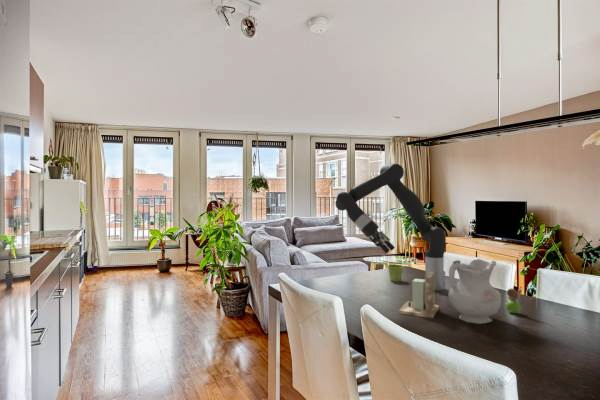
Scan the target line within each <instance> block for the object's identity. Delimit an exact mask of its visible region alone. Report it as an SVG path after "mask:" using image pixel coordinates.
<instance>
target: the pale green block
mask: <svg viewBox="0 0 600 400" xmlns="http://www.w3.org/2000/svg"><path fill="white" fill-rule="evenodd" d="M411 282H412V284H411V285H412V287H411V289H412V302H413V309H418V310H424V304H426V280H425V278H423V279H422V278H414V279H413V280H412V281H411Z"/></svg>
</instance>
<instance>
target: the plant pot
mask: <svg viewBox="0 0 600 400" xmlns="http://www.w3.org/2000/svg"><path fill="white" fill-rule="evenodd" d="M404 267H405V266H404V265H402V264H388V265H387V268H388V273H389V279H390V281H391V282H401V281H402V276H403V270H404Z"/></svg>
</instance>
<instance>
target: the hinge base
mask: <svg viewBox="0 0 600 400" xmlns="http://www.w3.org/2000/svg"><path fill="white" fill-rule="evenodd" d="M435 292H436V290H435V273H433V272H431V273H430V274H429V275H428V276H427V277H426V304H424V310H418V309H413V301H409V300H407V301H406V302H405V303H404V304H403V305H402V306H401V307H400V309H399V310H398V314H399V315H409V316H415V317H421V318H430V319H434V318H435V316H436V315H437V313H438V311H439V309H440V304H436V303H435V302H436V298H435V297H436V294H435Z"/></svg>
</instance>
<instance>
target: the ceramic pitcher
mask: <svg viewBox="0 0 600 400" xmlns="http://www.w3.org/2000/svg"><path fill="white" fill-rule="evenodd" d="M496 265H497V261H495V260H491V261H490V263H489V262H488V261H487V260H483V259H480V258H476V259H474V260H472V261H471V262H470V263H463V262H461V260H458V259H456V260H454V261H452V263H451V265H450V267H449V269H448V279H449V283H450V289H449V291H448V300H449V303H450V305H451V306H452V307H453V308H454V310H455V311H456V312H458V313H459V314H460V315H459V316H458V317H459V318H458V319H459V320H460V321H461V320H462V321H464V322H466V323H468V324H469V323H471V324H477V325H482V324H487V323H491V322H493V318H490V317H492V316H495V315H496V314H497V313H498V312H499V311H500V308H501V304H502V294H501V293H500V291H498V290H497V289H496V288H495V287H494V286H493V285H491V282H490V281H491V280H490V279H491V275H492V272H493V270H494V268H495V266H496ZM456 271H457V274H458V277H459V279H458V281H456V279H455V273H456Z"/></svg>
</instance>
